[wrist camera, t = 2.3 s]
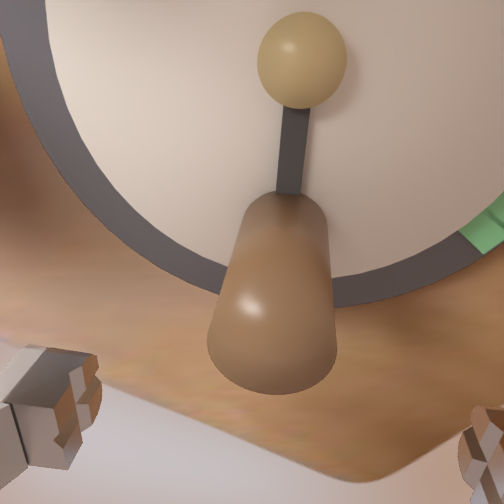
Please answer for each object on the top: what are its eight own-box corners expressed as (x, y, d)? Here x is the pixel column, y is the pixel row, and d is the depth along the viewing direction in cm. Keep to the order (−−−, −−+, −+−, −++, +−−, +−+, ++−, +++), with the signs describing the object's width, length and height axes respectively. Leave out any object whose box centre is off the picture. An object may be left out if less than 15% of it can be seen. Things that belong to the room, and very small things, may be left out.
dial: (18, -319, 10) (-423, -795, 4) (699, -308, 9) (1492, -925, 3) (102, 282, 19) (1, 421, 13) (460, 322, 18) (540, 495, 12)
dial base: (-107, -106, 14) (-155, -118, 13) (592, -765, 8) (655, -937, 6) (200, 338, 22) (192, 362, 21) (666, 186, 16) (702, 204, 15)
